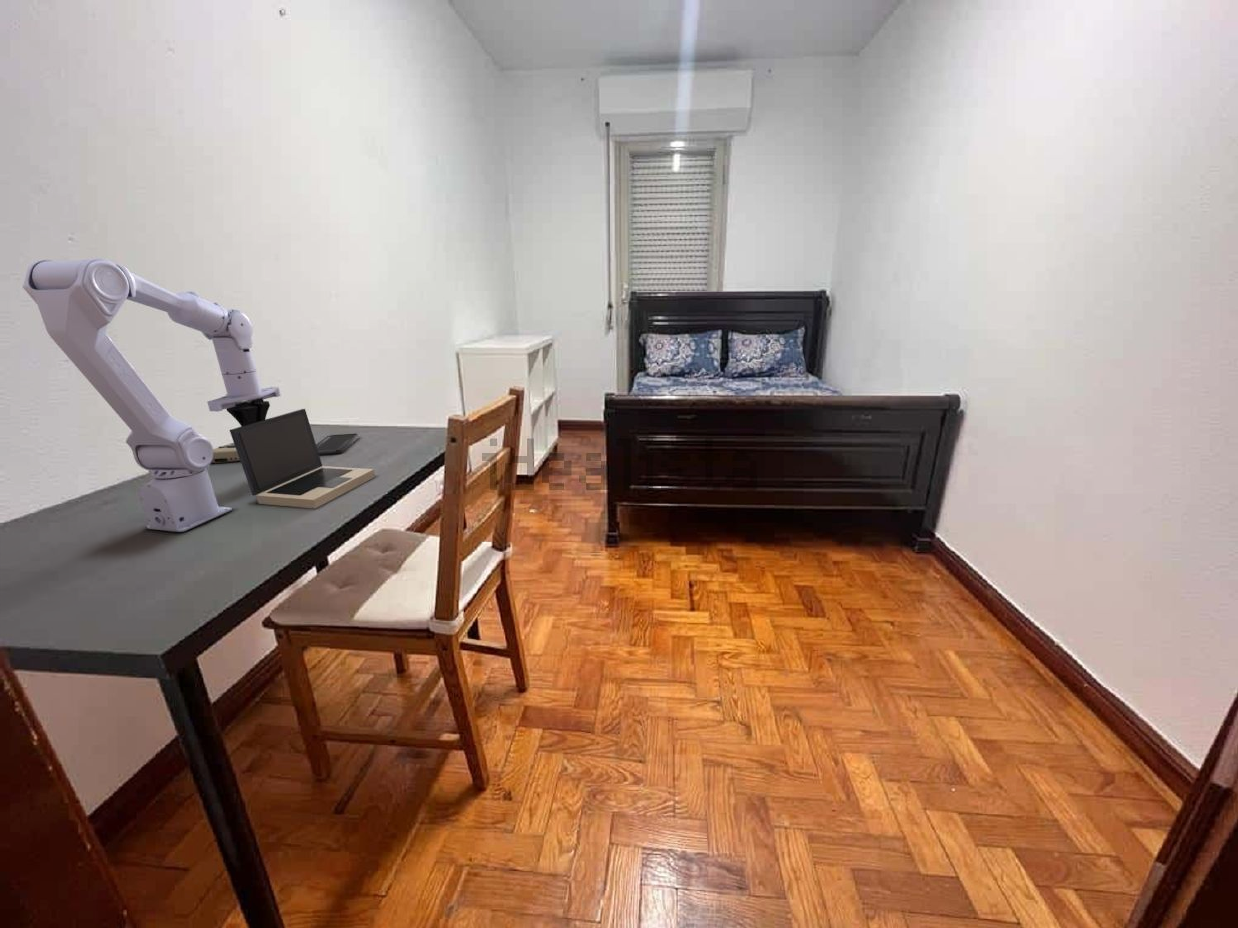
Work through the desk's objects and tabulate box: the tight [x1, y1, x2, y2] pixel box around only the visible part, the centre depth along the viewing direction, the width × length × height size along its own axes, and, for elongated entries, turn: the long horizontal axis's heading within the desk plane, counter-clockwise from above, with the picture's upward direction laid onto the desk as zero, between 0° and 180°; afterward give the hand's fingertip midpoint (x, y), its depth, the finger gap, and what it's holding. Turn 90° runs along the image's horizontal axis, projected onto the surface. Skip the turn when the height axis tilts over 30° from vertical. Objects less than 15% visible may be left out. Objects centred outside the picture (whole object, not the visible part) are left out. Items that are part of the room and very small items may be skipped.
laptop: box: [255, 465, 376, 510], centre depth 105 cm, size 13×17×2 cm
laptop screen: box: [229, 408, 323, 496], centre depth 105 cm, size 13×17×1 cm
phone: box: [316, 433, 359, 456], centre depth 134 cm, size 8×1×15 cm
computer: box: [210, 444, 241, 464], centre depth 127 cm, size 16×8×3 cm, turn 99°
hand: (256, 437), depth 107 cm, fingers closed
